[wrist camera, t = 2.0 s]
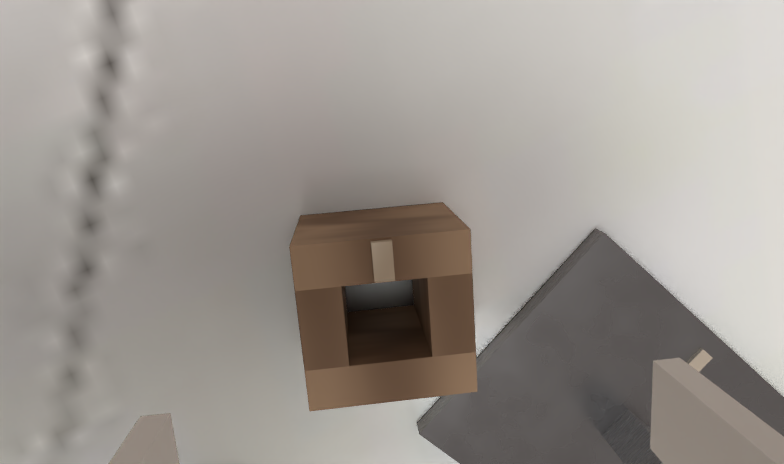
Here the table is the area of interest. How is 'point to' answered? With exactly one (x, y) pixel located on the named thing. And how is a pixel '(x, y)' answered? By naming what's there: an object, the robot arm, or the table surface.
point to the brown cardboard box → (386, 325)
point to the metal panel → (586, 370)
